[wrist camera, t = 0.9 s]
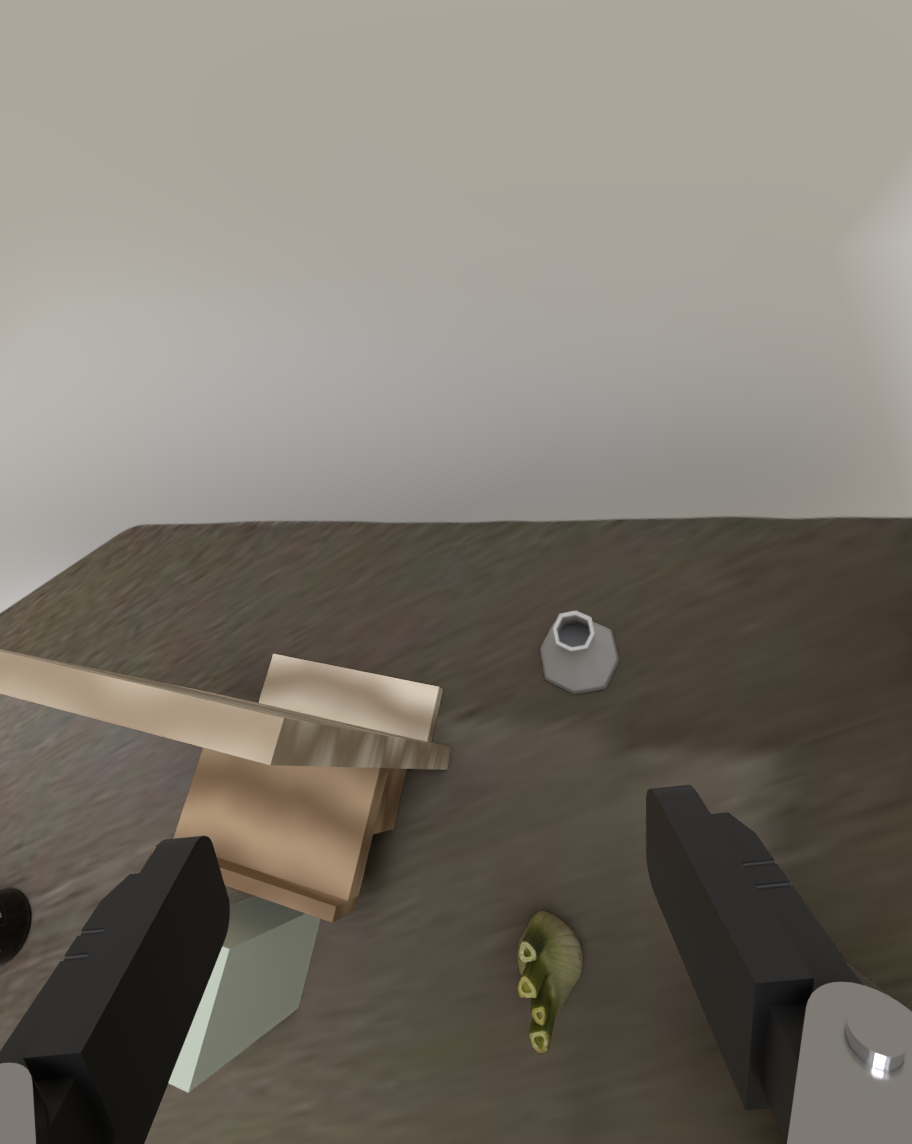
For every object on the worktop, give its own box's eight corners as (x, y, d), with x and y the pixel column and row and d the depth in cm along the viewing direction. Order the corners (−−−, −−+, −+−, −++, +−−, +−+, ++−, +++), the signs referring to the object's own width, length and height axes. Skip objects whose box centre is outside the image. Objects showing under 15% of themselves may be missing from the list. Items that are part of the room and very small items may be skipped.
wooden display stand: (419, 902, 49) (181, 1068, 21) (208, 834, 55) (-185, 895, 28) (463, 693, 54) (316, 608, 26) (264, 653, 60) (-21, 552, 33)
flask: (534, 688, 52) (519, 670, 43) (544, 613, 54) (532, 580, 45) (615, 701, 50) (618, 685, 41) (623, 622, 52) (627, 590, 43)
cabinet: (297, 1012, 48) (186, 1098, 35) (247, 992, 50) (124, 1067, 37) (324, 904, 51) (229, 948, 38) (276, 888, 52) (169, 925, 39)
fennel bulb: (533, 896, 47) (511, 934, 36) (592, 922, 45) (589, 969, 34) (512, 973, 46) (483, 1036, 35) (573, 1002, 44) (562, 1078, 33)
